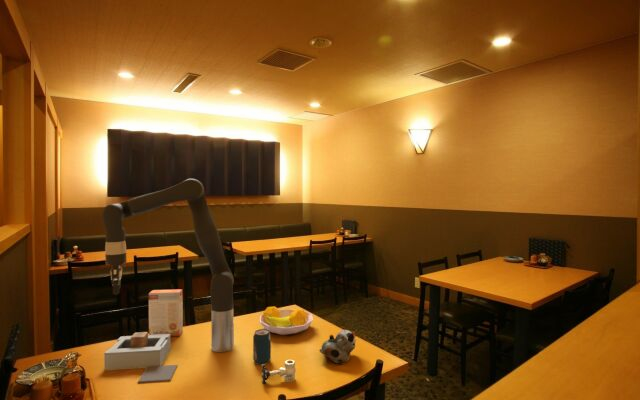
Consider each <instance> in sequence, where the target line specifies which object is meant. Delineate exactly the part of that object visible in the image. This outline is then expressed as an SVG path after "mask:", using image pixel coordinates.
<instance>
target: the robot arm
mask: <svg viewBox="0 0 640 400" xmlns="http://www.w3.org/2000/svg"><path fill="white" fill-rule="evenodd" d="M182 201H184V202H185V201H186V202H187V204H188V206H189V210H190V211H191V215H192V223H193V224H192V225H193V230H194V233H195V237H196V241H197V243H198V247H199V249H200V250H201V252H202V254H203V255H204V257H205V259H206V260H207V262H208V265H209V267H210V272H211V277H212V278H211V281H210V285H209V286H210V287H209V289H210V291H209V292H210V305H211V306H210V310H211V311H210V312H211V313H210V314H211V319H210V320H211V321H210V322H211V323H210V324H211V329H210V332H211V337H210V338H211V343H210V344H211V350H212V351H213V352H215V353H224V352H229V351H233V350H234V345H235V344H234V343H235V333H234V332H235V323H234V297H233V296H234V289H233V288H234V283H235V279H234V275H233V273H232V270H231V269H230V267H229V264H228V262H227V259H226V257H225V252H224V247H223V245H222V240H221V237H220V234H219V231H218V228H217V225H216V222H215V220H214V218H213V216H212V213H211V211H210V208H209V205H208V203H207V202H208V200H207V197H206V192H205V187H204V184H203V183H202V182H201V181H199V180H198V179H195V178H187V179H185V180H183V181H181V182H179V183H178V184H175V185H173V186H170V187H168V188H165V189H162V190H158V191H154V192H150V193H146V194H143V195H139V196H136V197H132V198H130V199H129V200H125V201H121V202H116V203H110V204H108V205H107V204H106V206H105V207H104V208H103V210H102V221H103V226H104V230H105V245H104V250H105V251H104V252H105V254H104V255H105V256H104V257H105V265H107V266H112V268H110V271H109V272H110V280H111V283H110V285H112V295H114V296H116V295H119V294H120V289H121V288H122V287H121V282H122V280H121V279H122V277H123V275H122V274H123V267H122V265H125V264H126V263H127V244H126V242H127V241H126V229H125V227H123V220H124V219H127V218H130V217H132V216H133V217H134V216H135V215H141V214H143V213H148V212H150V211H154V210H156V209H159V208H161V207H164V206H166V205H169V204H173V203H177V202H182Z"/></svg>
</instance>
